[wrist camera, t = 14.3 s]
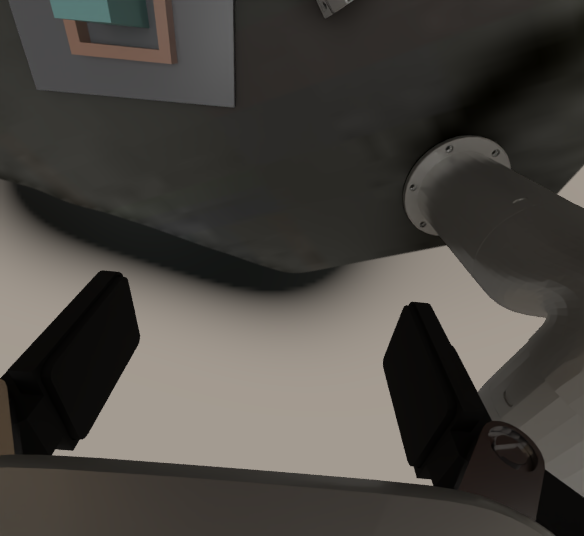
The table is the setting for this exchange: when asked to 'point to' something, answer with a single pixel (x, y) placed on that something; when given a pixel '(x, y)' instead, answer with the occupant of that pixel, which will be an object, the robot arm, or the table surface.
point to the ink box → (331, 6)
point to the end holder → (135, 52)
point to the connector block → (103, 11)
